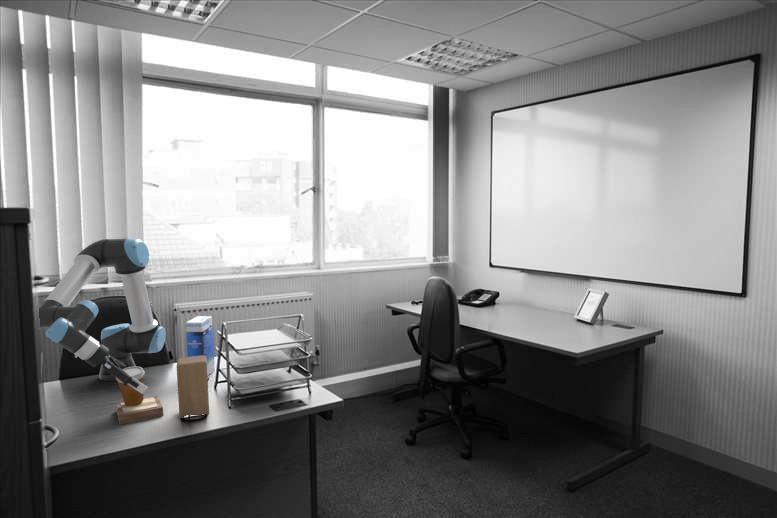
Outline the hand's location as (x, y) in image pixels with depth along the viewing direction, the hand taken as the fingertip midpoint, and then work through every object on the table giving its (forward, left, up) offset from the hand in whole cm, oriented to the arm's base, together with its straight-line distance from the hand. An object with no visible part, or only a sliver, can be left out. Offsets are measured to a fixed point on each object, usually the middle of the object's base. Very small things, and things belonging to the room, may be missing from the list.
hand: (142, 385), depth 182 cm
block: (+11, +15, -10) cm, 22 cm away
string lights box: (-33, +27, -10) cm, 44 cm away
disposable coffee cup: (-3, -3, -7) cm, 8 cm away
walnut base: (0, -2, -10) cm, 10 cm away
